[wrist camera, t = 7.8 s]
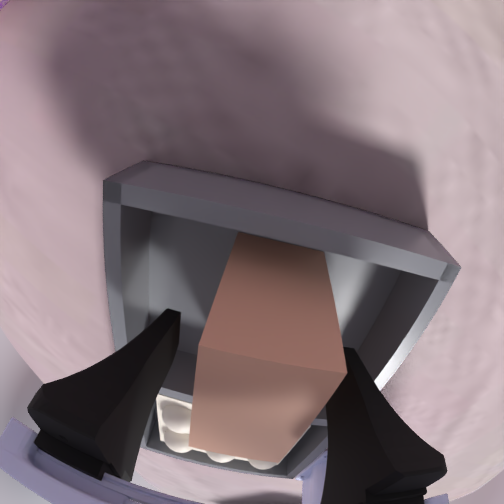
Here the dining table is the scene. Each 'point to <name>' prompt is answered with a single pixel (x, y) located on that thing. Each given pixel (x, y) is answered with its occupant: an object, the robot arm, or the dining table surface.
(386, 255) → the tote
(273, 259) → the carton
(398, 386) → the dining table surface
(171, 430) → the egg carton
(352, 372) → the robot arm
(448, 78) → the dining table surface
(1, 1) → the bowl of food
